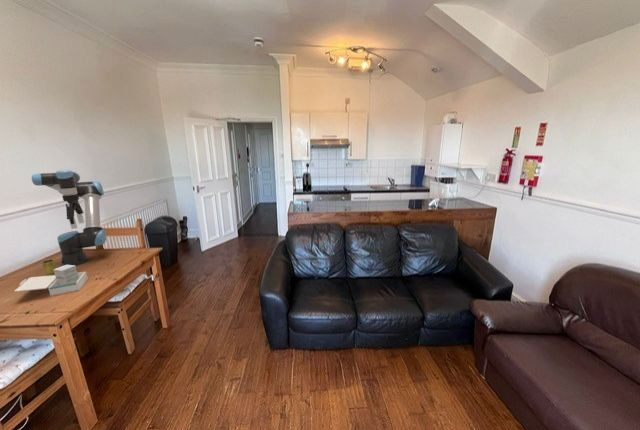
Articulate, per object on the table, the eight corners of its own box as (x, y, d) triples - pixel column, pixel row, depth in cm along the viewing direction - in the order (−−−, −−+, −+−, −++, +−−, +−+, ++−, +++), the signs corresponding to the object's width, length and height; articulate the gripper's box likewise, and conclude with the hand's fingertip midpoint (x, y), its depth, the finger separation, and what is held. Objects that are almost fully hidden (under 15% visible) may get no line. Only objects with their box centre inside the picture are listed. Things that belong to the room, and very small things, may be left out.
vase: (63, 279, 171) (57, 259, 168) (51, 284, 166) (44, 263, 162) (57, 278, 173) (51, 258, 169) (45, 283, 168) (38, 262, 164)
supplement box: (58, 288, 160) (52, 269, 157) (71, 282, 167) (66, 264, 164) (67, 289, 158) (62, 270, 155) (80, 283, 165) (75, 265, 162)
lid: (58, 272, 165) (59, 275, 166) (29, 274, 159) (30, 278, 160) (45, 285, 150) (46, 288, 150) (13, 288, 144) (14, 292, 145)
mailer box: (61, 283, 167) (59, 276, 165) (87, 278, 172) (85, 271, 171) (50, 296, 153) (48, 287, 151) (79, 290, 158) (77, 282, 157)
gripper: (69, 192, 179) (77, 221, 185) (54, 198, 158) (63, 231, 163) (83, 191, 182) (91, 220, 188) (70, 197, 161) (79, 230, 166)
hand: (78, 225), depth 176 cm, fingers open, 13 cm apart
